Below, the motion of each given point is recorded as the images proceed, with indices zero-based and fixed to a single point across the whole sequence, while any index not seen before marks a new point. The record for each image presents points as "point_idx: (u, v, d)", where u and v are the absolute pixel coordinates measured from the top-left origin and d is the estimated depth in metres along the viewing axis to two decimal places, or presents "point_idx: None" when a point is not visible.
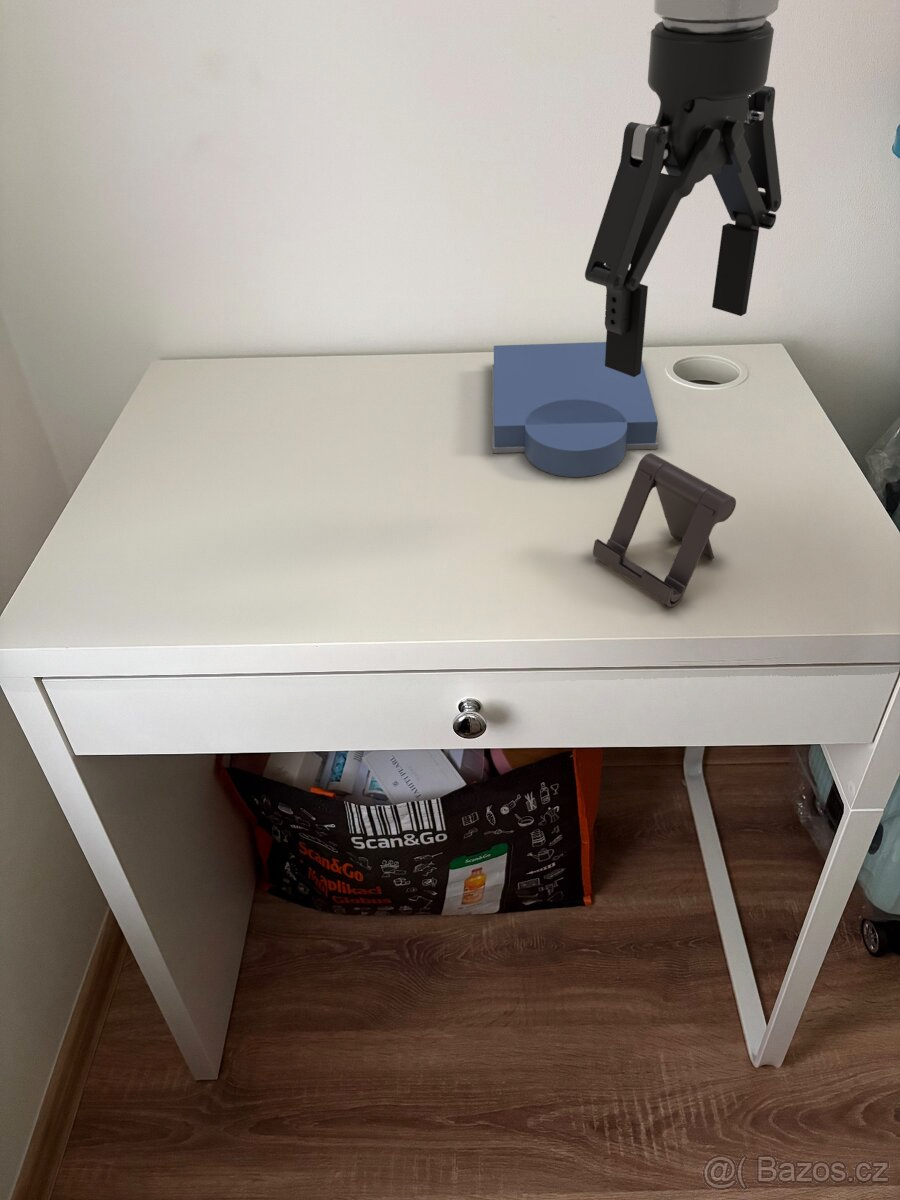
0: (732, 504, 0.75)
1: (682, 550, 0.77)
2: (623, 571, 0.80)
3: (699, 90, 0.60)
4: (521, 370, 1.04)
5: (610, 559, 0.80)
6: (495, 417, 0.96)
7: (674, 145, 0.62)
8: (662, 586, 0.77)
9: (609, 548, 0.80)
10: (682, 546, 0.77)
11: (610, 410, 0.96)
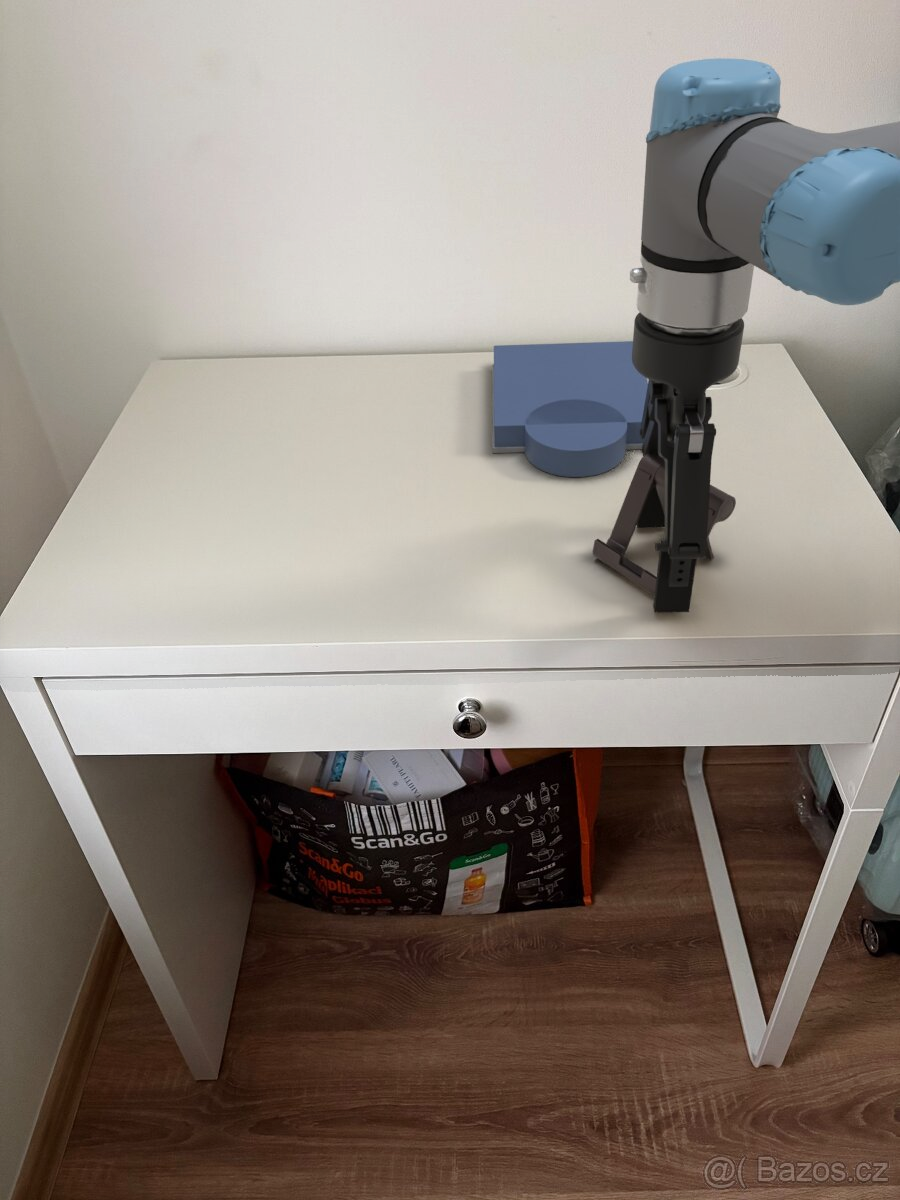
0: (732, 504, 0.75)
1: None
2: (623, 571, 0.80)
3: (718, 377, 0.67)
4: (521, 370, 1.04)
5: (610, 559, 0.81)
6: (495, 417, 0.96)
7: None
8: None
9: (609, 547, 0.81)
10: None
11: (610, 410, 0.96)
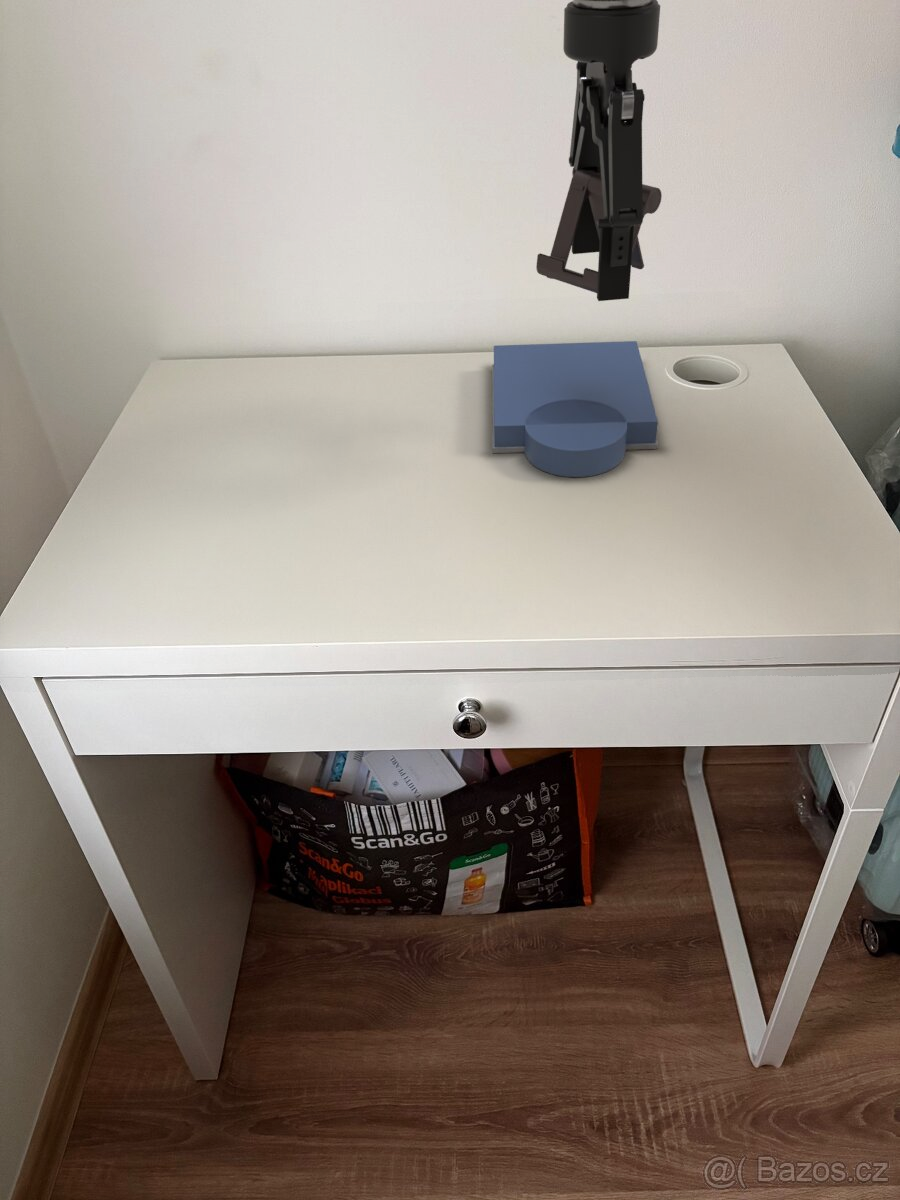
0: (658, 196, 0.84)
1: None
2: (566, 276, 0.88)
3: (641, 51, 0.75)
4: (521, 370, 1.04)
5: (553, 268, 0.89)
6: (495, 417, 0.96)
7: None
8: None
9: (551, 258, 0.89)
10: None
11: (610, 410, 0.96)
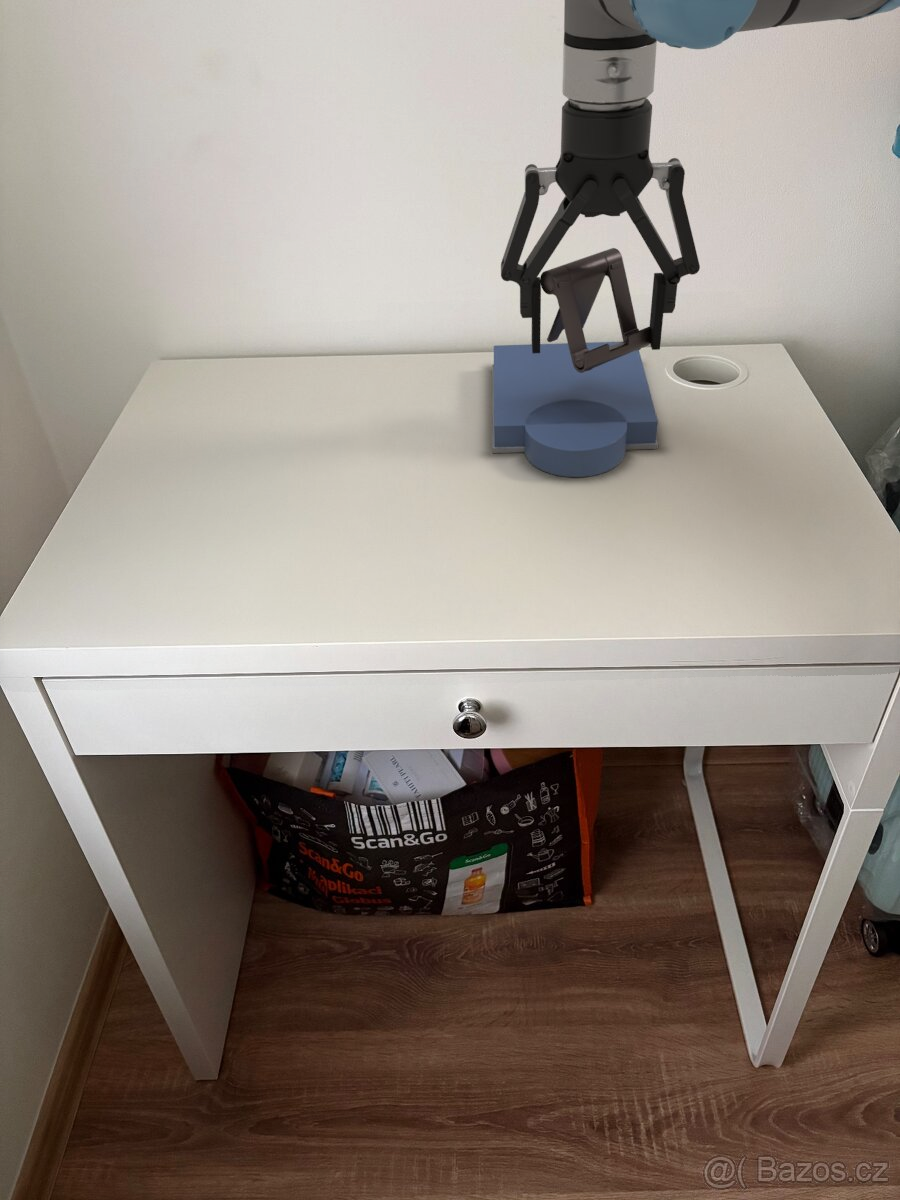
0: None
1: (620, 307, 0.93)
2: (614, 354, 0.92)
3: None
4: (521, 370, 1.04)
5: (602, 355, 0.91)
6: (495, 417, 0.96)
7: None
8: (645, 332, 0.93)
9: (596, 349, 0.90)
10: (618, 304, 0.93)
11: (610, 410, 0.96)
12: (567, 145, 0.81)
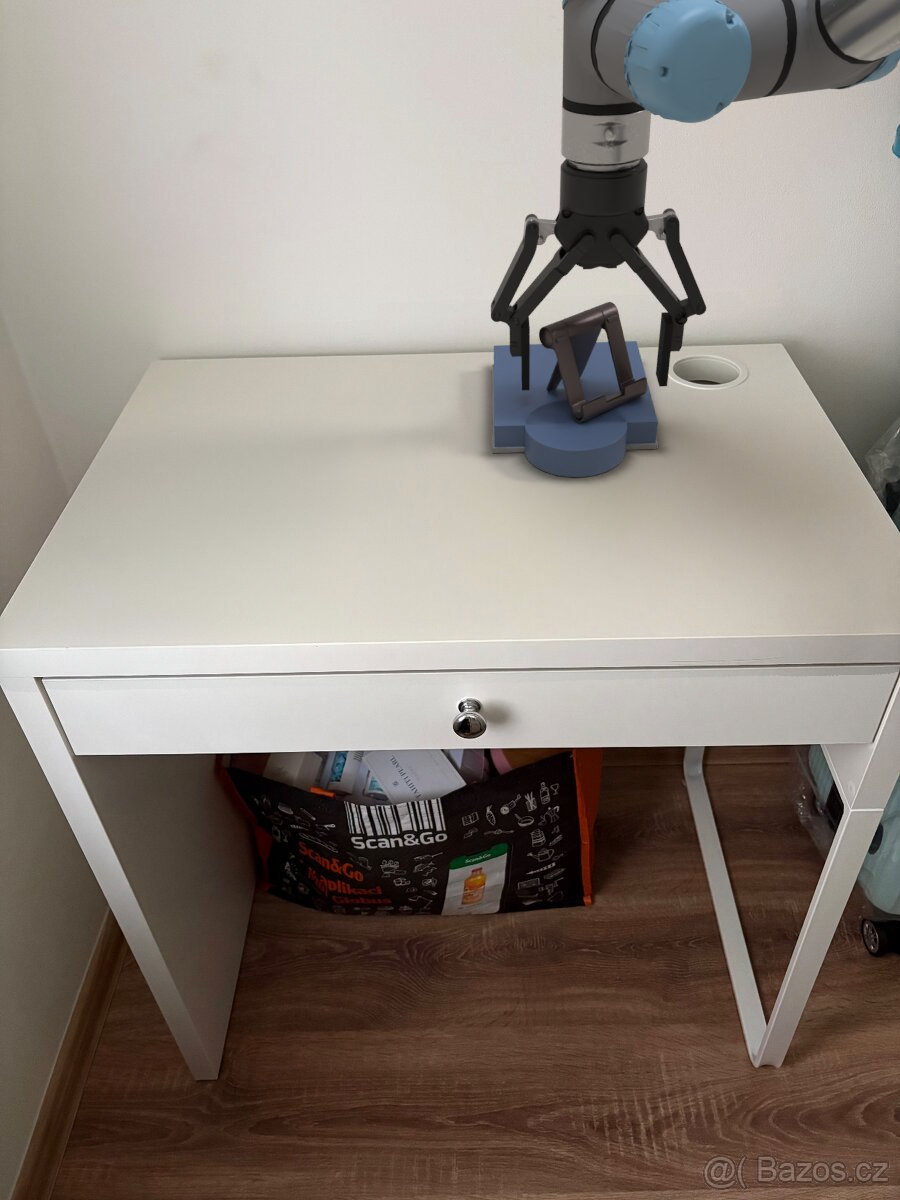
0: None
1: (616, 358, 0.97)
2: (611, 404, 0.95)
3: None
4: None
5: (599, 407, 0.94)
6: (495, 417, 0.96)
7: None
8: (640, 382, 0.96)
9: (593, 400, 0.94)
10: (615, 356, 0.96)
11: (610, 410, 0.96)
12: (566, 202, 0.84)
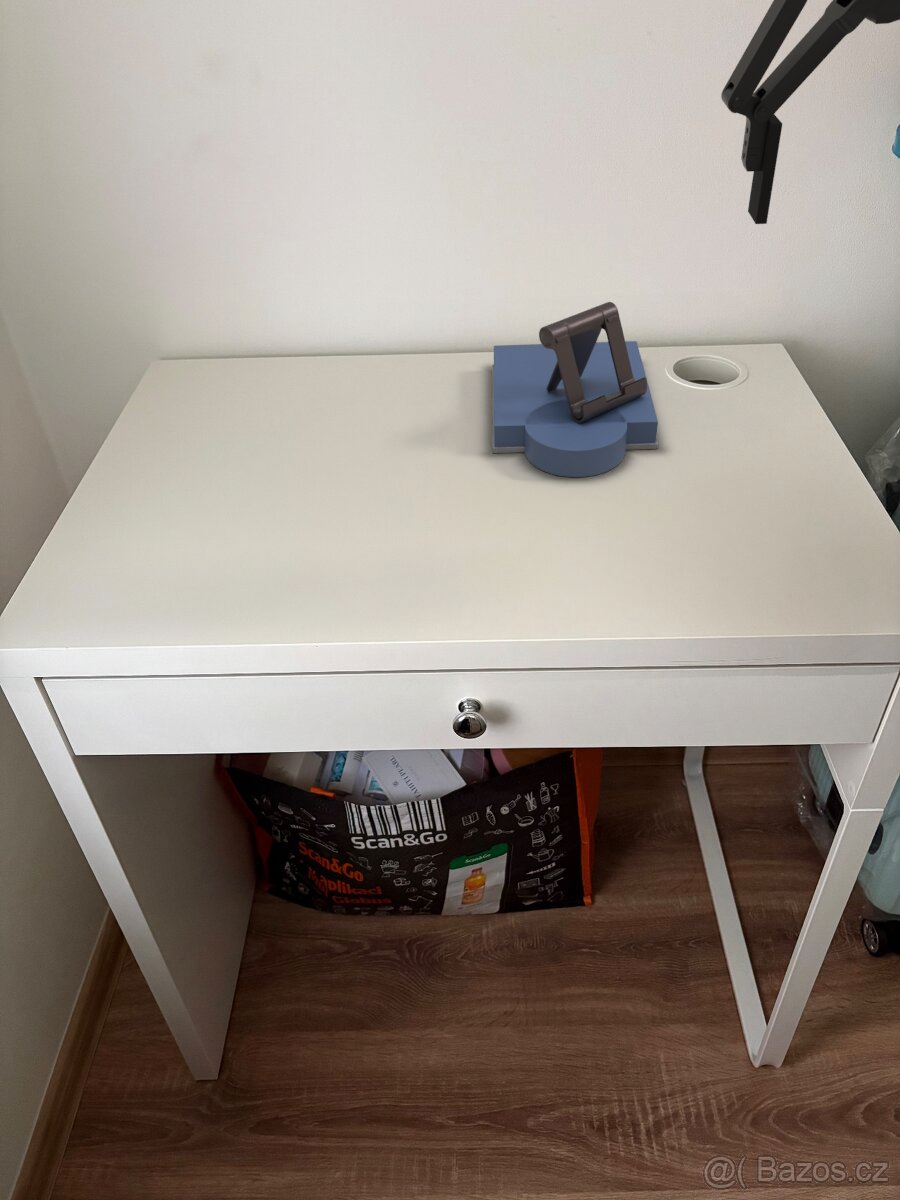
0: None
1: (616, 358, 0.97)
2: (611, 404, 0.95)
3: None
4: (521, 370, 1.04)
5: (599, 407, 0.94)
6: (495, 417, 0.96)
7: None
8: (640, 382, 0.96)
9: (593, 400, 0.94)
10: (615, 356, 0.96)
11: (610, 410, 0.96)
12: None
